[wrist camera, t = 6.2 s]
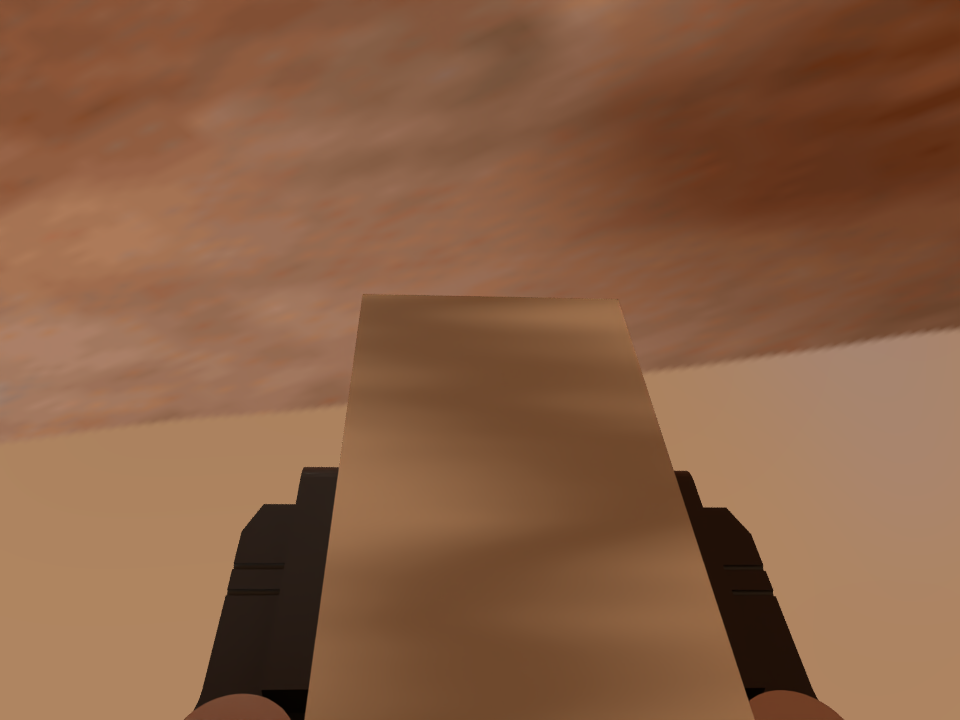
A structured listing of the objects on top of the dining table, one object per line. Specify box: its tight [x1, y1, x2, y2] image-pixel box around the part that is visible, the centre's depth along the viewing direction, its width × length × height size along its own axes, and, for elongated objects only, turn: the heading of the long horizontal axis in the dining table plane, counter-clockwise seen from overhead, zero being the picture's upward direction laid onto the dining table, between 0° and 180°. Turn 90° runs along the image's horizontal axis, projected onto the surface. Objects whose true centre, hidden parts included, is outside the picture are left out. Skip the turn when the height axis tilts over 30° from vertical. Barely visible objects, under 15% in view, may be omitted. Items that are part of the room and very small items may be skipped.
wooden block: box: [305, 294, 755, 720], centre depth 11 cm, size 4×4×10 cm
